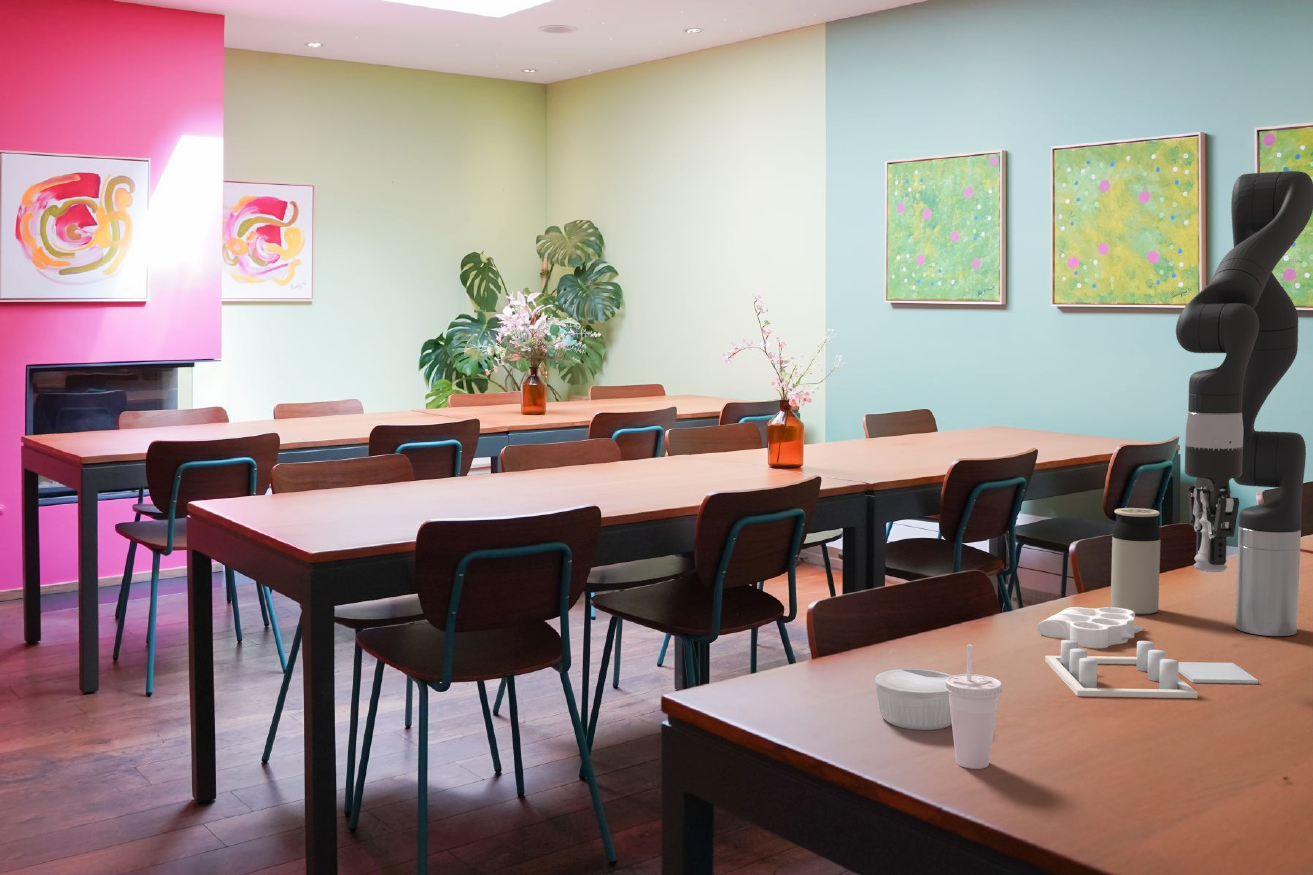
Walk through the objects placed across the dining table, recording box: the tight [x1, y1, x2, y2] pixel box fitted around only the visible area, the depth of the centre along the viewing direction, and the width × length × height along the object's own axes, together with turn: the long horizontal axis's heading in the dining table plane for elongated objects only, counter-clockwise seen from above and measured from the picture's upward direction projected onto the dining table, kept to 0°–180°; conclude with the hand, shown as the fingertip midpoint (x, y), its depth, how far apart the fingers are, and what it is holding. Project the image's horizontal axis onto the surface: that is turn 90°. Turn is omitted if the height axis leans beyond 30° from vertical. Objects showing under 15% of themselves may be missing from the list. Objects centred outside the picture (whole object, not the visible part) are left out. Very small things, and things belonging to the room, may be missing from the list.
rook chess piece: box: [1193, 514, 1228, 573], centre depth 174 cm, size 4×4×8 cm
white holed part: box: [1036, 606, 1145, 649], centre depth 198 cm, size 3×18×15 cm
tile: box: [1178, 661, 1259, 685], centre depth 175 cm, size 9×9×1 cm
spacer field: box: [1044, 639, 1199, 699], centre depth 173 cm, size 18×16×4 cm
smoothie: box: [945, 643, 1003, 770], centre depth 139 cm, size 6×6×14 cm
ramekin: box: [874, 668, 953, 731], centre depth 155 cm, size 11×11×5 cm
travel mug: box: [1110, 507, 1162, 616], centre depth 215 cm, size 8×8×18 cm
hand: (1210, 560), depth 174 cm, fingers closed on rook chess piece, 4 cm apart
